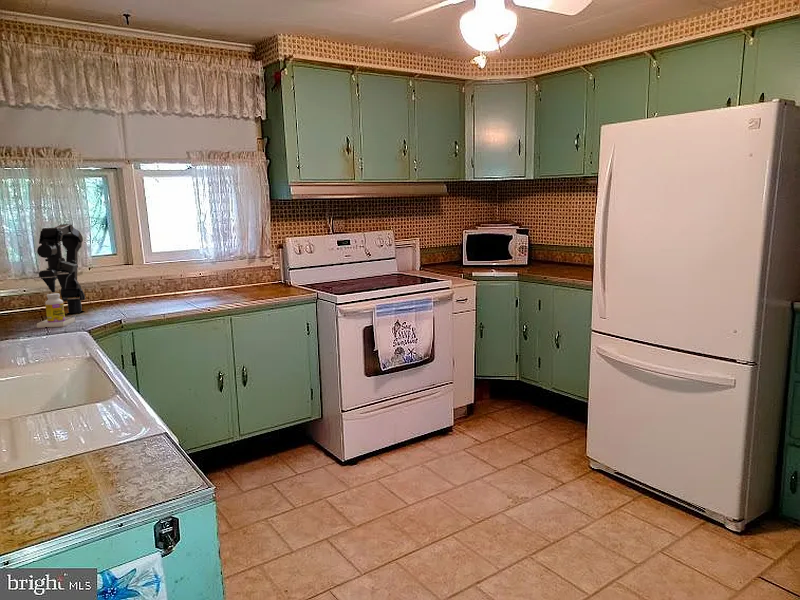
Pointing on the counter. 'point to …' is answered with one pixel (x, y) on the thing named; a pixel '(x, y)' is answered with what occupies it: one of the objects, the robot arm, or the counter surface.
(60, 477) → the counter surface
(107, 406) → the counter surface
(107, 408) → the counter surface
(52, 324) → the pocket tray
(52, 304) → the supplement bottle
